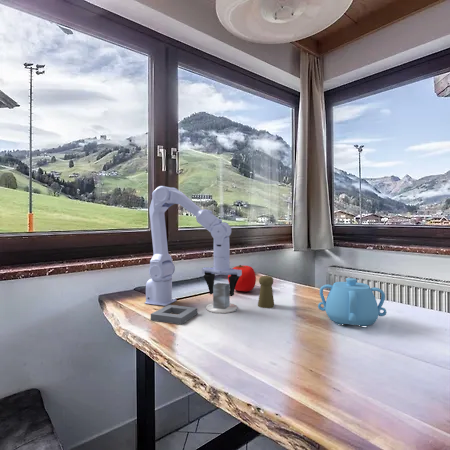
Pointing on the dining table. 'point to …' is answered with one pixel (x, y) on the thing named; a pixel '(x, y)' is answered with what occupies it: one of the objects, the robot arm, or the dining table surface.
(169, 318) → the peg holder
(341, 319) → the decorative pot
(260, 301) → the cork
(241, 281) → the tomato
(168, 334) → the dining table surface
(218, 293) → the grey-blue peg
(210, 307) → the ceramic coaster
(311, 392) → the dining table surface
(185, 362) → the dining table surface
